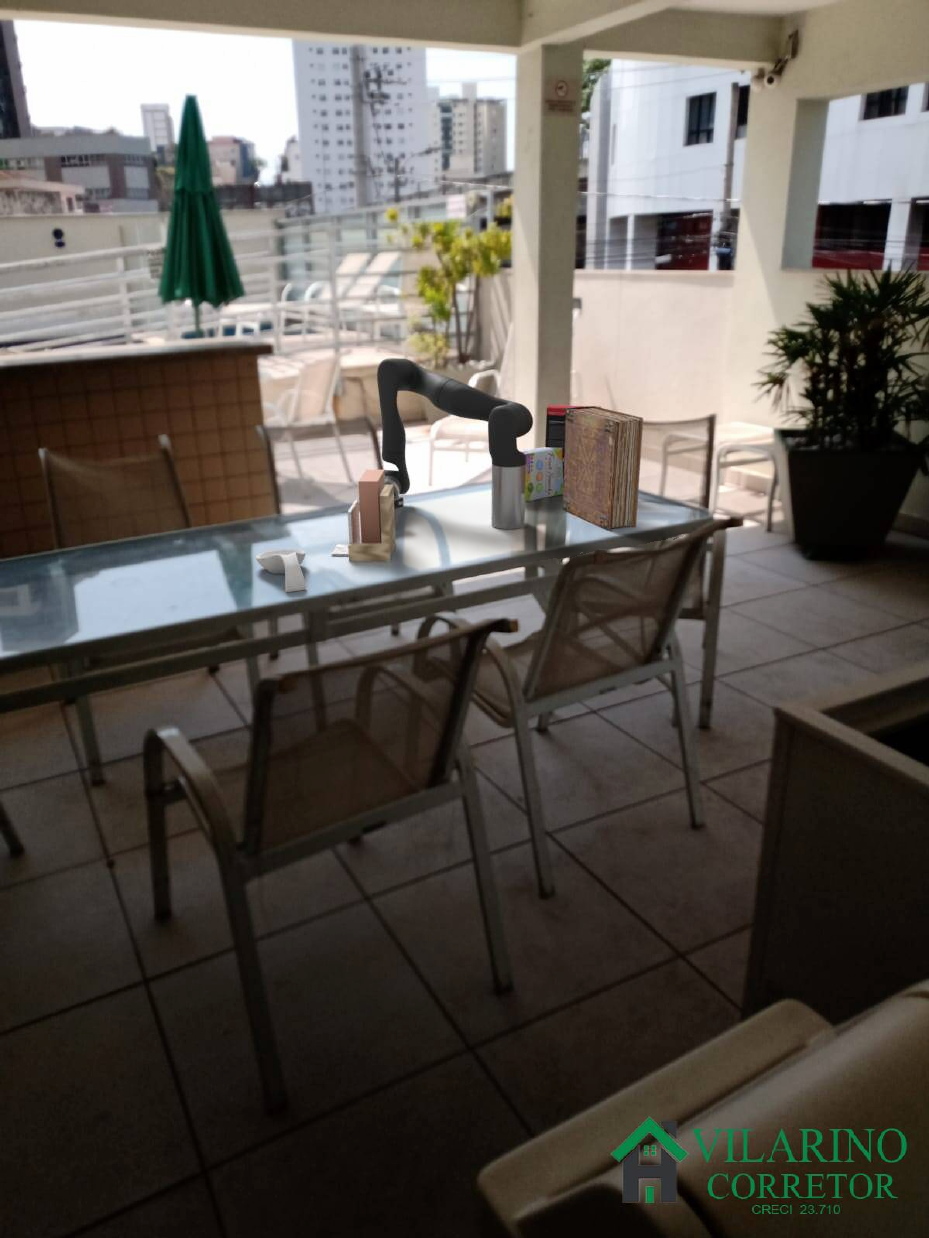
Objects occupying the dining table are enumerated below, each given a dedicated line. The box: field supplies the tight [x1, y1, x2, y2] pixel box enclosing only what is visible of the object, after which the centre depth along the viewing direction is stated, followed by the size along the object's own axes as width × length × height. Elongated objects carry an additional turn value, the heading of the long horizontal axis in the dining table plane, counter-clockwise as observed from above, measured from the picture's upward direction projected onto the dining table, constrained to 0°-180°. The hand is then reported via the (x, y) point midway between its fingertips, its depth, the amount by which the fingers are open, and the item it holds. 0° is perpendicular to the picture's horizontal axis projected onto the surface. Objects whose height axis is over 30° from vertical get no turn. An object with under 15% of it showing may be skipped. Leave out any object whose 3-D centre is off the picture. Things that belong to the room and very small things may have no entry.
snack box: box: [520, 446, 563, 503], centre depth 278 cm, size 21×6×15 cm, turn 127°
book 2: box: [562, 405, 644, 532], centre depth 252 cm, size 25×9×30 cm, turn 24°
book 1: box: [357, 469, 385, 543], centre depth 232 cm, size 5×14×18 cm, turn 178°
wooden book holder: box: [347, 485, 397, 562], centre depth 224 cm, size 10×14×16 cm
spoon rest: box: [255, 548, 307, 593], centre depth 209 cm, size 24×12×7 cm, turn 22°
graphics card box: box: [544, 404, 602, 486], centre depth 282 cm, size 17×7×27 cm, turn 82°
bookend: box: [331, 499, 361, 557], centre depth 226 cm, size 6×12×12 cm, turn 178°
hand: (377, 509), depth 239 cm, fingers closed
